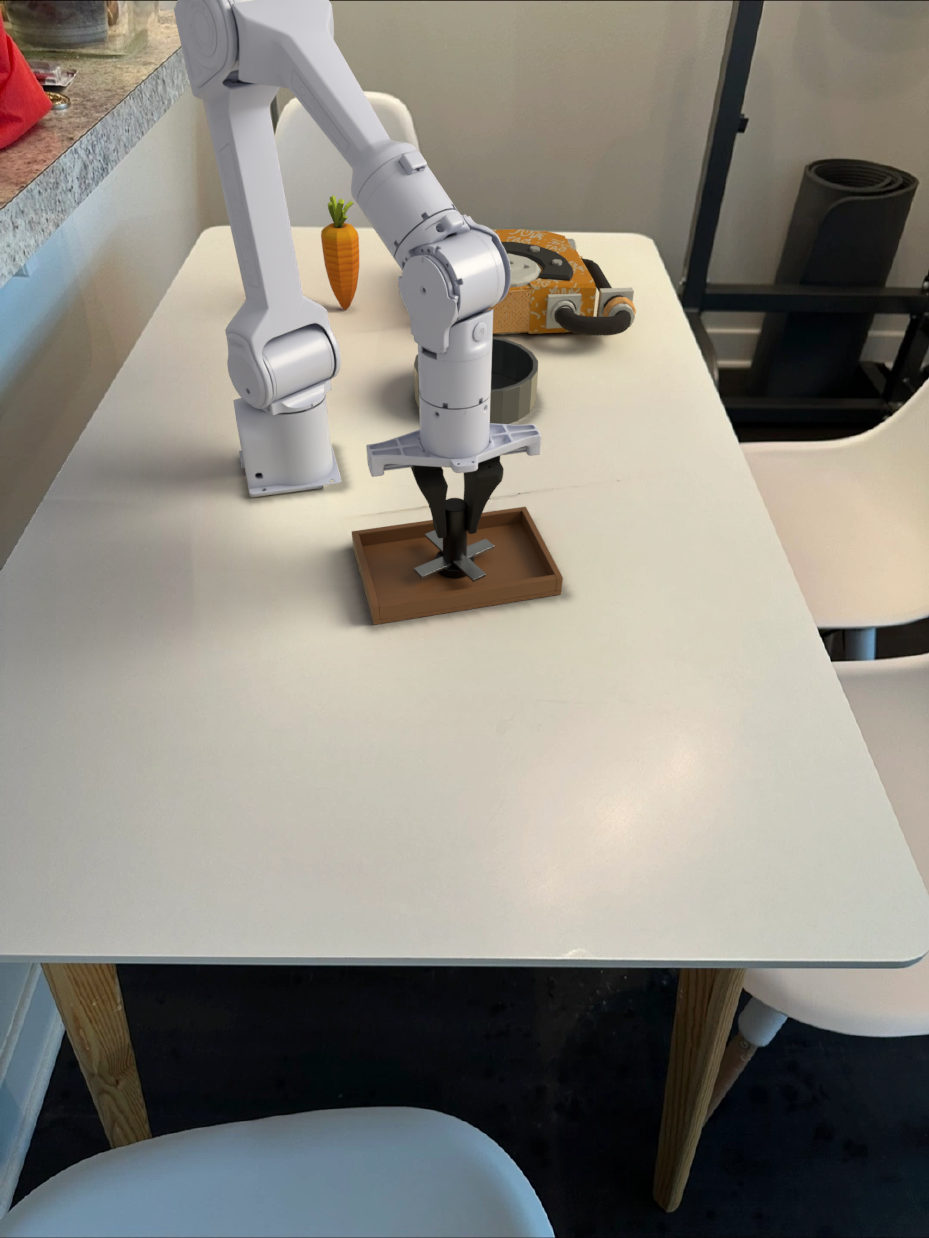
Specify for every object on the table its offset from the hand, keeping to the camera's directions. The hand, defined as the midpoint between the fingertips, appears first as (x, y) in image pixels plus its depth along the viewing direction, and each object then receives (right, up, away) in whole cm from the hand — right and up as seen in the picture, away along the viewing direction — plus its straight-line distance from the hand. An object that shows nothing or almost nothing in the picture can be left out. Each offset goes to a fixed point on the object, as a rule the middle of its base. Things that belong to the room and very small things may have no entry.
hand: (454, 529), depth 82 cm
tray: (0, -4, +3) cm, 5 cm away
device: (+10, +34, +45) cm, 57 cm away
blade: (0, -3, +3) cm, 4 cm away
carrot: (-16, +35, +45) cm, 59 cm away
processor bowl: (+2, +18, +27) cm, 32 cm away
